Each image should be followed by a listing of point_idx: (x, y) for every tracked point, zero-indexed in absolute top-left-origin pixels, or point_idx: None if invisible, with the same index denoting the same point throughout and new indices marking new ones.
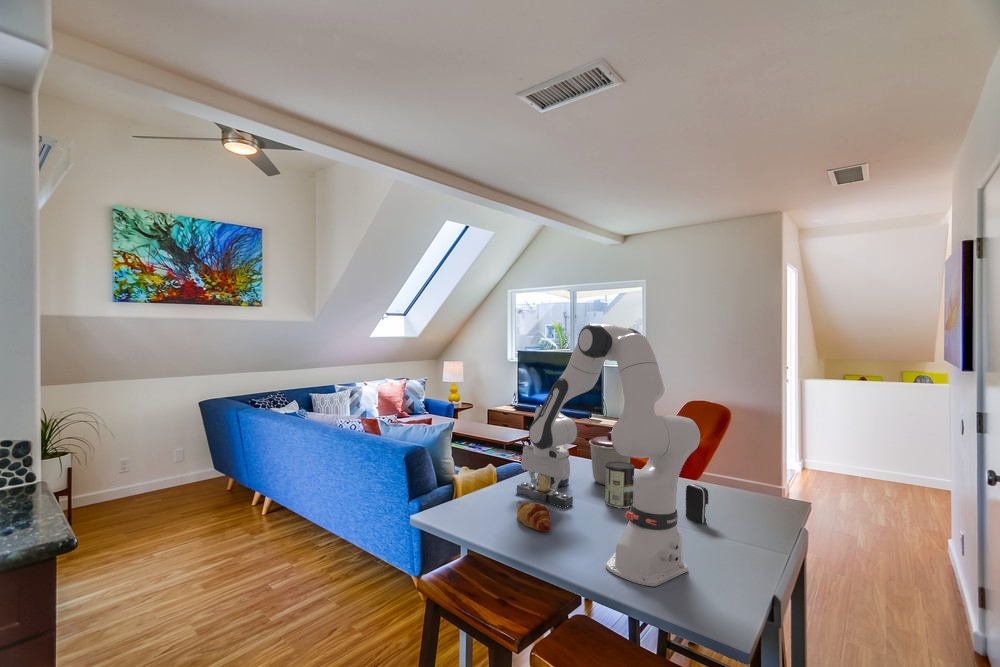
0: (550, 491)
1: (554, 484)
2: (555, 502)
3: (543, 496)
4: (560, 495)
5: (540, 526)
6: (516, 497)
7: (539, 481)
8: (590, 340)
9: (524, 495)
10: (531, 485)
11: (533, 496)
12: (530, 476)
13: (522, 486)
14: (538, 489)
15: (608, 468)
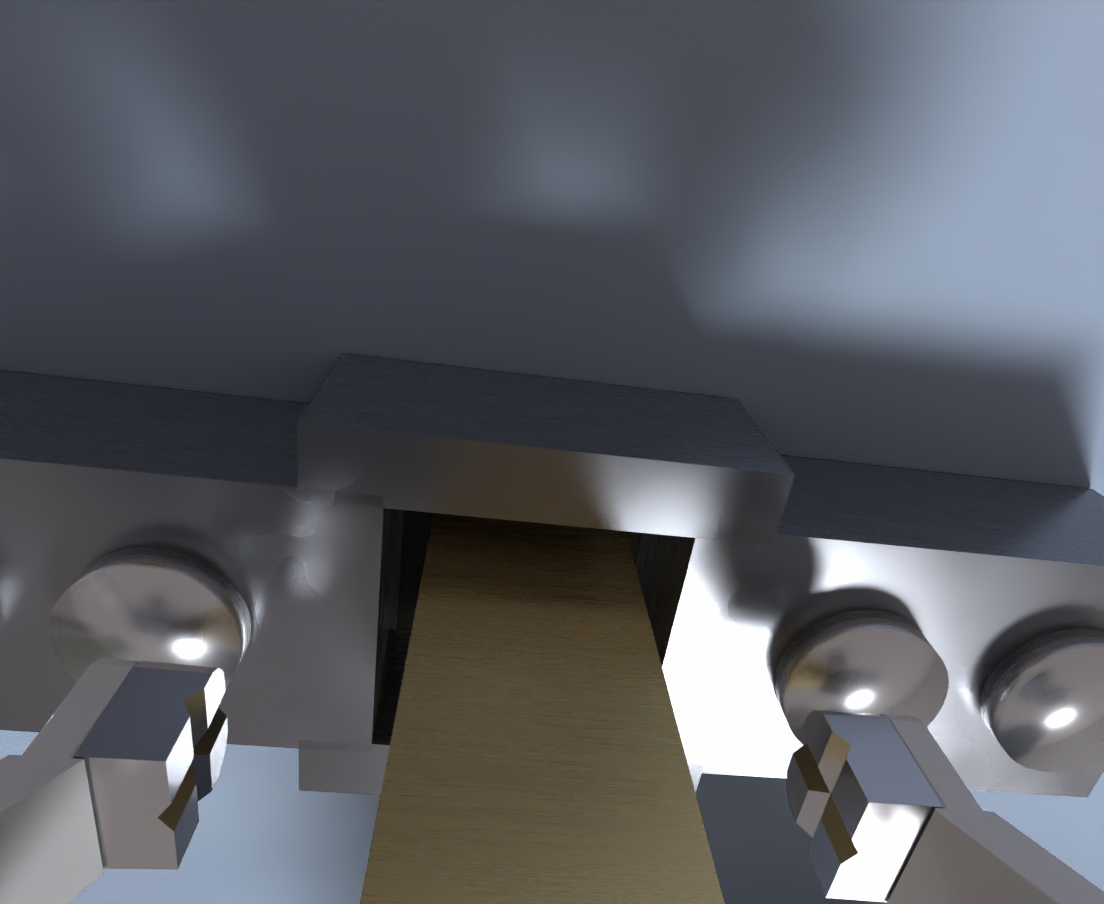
0: None
1: (18, 774)
2: (102, 407)
3: (387, 411)
4: (35, 612)
5: None
6: (1023, 279)
7: (636, 751)
8: None
9: (910, 470)
10: (886, 689)
11: (674, 413)
12: (1054, 867)
13: (1074, 583)
14: (631, 591)
15: None
